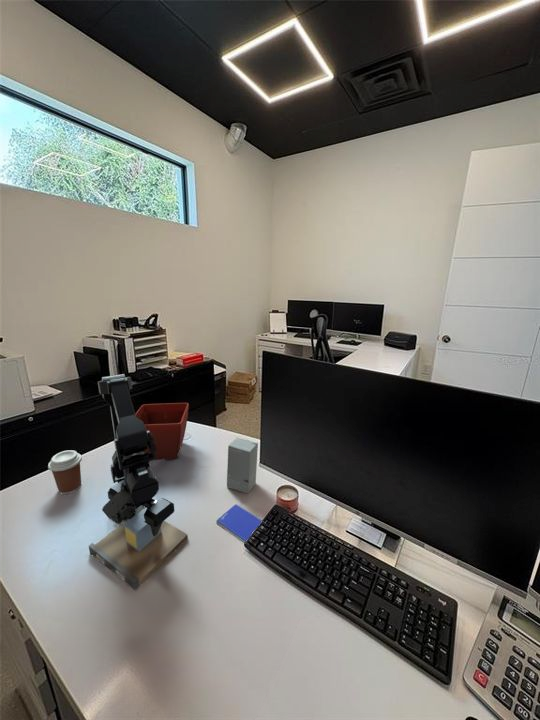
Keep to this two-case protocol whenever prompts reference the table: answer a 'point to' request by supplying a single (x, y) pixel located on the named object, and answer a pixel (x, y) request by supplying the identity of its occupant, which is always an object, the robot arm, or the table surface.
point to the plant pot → (165, 427)
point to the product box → (138, 531)
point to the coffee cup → (66, 471)
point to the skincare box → (242, 465)
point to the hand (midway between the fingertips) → (143, 527)
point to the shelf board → (137, 553)
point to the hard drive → (239, 522)
